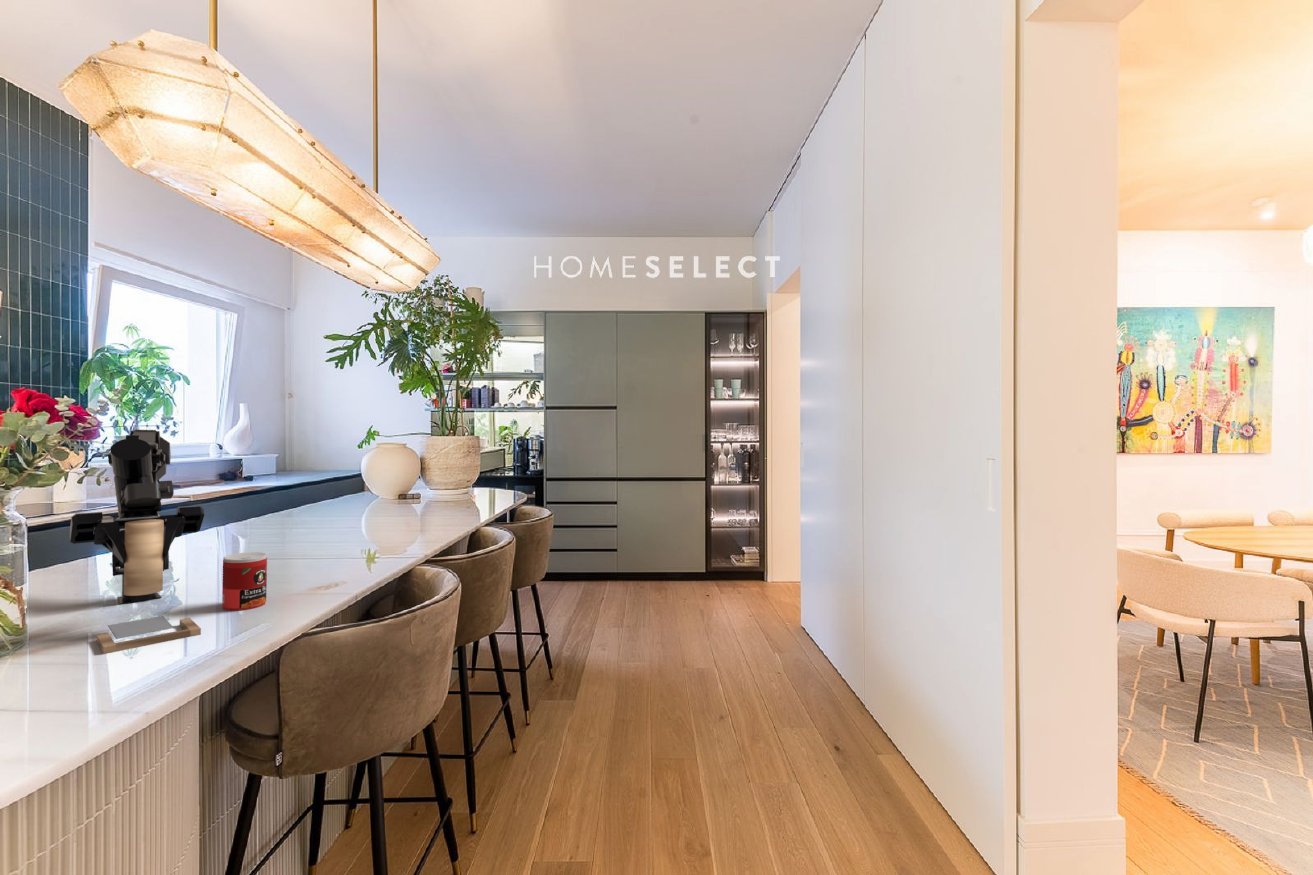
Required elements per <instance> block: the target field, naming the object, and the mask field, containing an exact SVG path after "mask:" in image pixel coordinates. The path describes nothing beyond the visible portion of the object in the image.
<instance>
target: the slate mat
mask: <svg viewBox="0 0 1313 875" xmlns="http://www.w3.org/2000/svg"><path fill="white" fill-rule="evenodd" d="M108 627H109V629H110V630H111V632H112V635H113V636H114V637H115V638H116V639H123V638H129V637H134V636H139V635H144V634H149V633H155V632H160V631H165V630H170V629H175V627H174V626H173V625H172V623H170V621H168V620H167V619H166V617H165V616H164V615H160V616H155V617H149V618H148V617H147V618H142V619H137V620H130V621H125V622H118V623H113V624H109V625H108Z"/></svg>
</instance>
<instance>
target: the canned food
mask: <svg viewBox="0 0 1313 875" xmlns="http://www.w3.org/2000/svg"><path fill="white" fill-rule="evenodd" d="M267 555H268V554H267V553H266V552H262V551H261V552H258V551H253V552H250V551H249V552H248V551H247V552H239V553H238V552H237V553H232V554H227V555H226V556H224V557H223V558H222V596H221V600H222V602H221V603H222V604H221V605H222V606H221V607H222V608H223V609H224V610H225V611H233V612H235V611H236V612H237V611H249V610H252V609H257V608H260V607H263V606H264V605H266V603H267V584H268V583H267V582H268V580H267V578H268V556H267Z"/></svg>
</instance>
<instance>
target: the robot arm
mask: <svg viewBox="0 0 1313 875" xmlns="http://www.w3.org/2000/svg"><path fill="white" fill-rule="evenodd" d="M160 433H161V432H160V430H156V429H134V430H130V434H125V438H124V439H121V440H118V441H116V442H115V443H114V444H112V445H111V446H110V448H109V449H110V450H109V453H108V454H107V459H108V464H109V466H111V467H112V473H113V475H114V477H113V482H114V490H115V497H116V506H117V514H118V517H115V516H114V515H106V516H104V515H103V512H102V511H97V512H96V511H95V512H94V511H93V512H81V513H80V512H79V513H78V512H77V513H74V514H73V515H72V516H71V517H70V526H69V543H71V544H74V545H77V544H85V543H93V544H94V545H97V546H99V545H101V546H102V547H104V548H105V549H106V550H108V551H109V552H111V554H112V555H111V562H112V563H111V564H112V577H116V576H122V577H121V579H122V580H121V596H118V597H117V598H116V599H117V601H118V602H119V604H120V605H129V604H133V603H134V604H135V603H140V602H148V601H152V600H158V599H162V595H160V594H159V592H156V593H152V594H146V595H137V596H127V595H124V563H126V553H125V522H129V521H136V520H153V519H157V520H164V537H163V572H164V571H166V570H169V569H170V564H169V563H170V552H169V551H170V550H171V549H170V548H171V546H172V544H173V542H174V540H175V539H176V538H181V537H182V535H183V534H195V533H198V532H199V531H200V530H201V527H202V524H203V522H204V518H205V511H204V508H203V507H202V506H200V505H190V506H189V505H188V506H178V507H177V508H176V511H175V514H169V515H168V514H167V515H160V513H159V512H161V511H162V502H161V501H162V500H169V499H172V498H173V496H174V494H175V493H174V484H173V481H172V480H161V479H162V478H163V477H164V476H165V475H166V474H167V468H168V467H167V466H168V465H171V460H172V459H171V443H170V442H169V441H168V440H166V439H165V438H163V437H162V436H161V434H160ZM159 480H160V481H159ZM158 481H159V482H158Z"/></svg>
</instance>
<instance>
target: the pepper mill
mask: <svg viewBox="0 0 1313 875" xmlns="http://www.w3.org/2000/svg"><path fill="white" fill-rule="evenodd" d="M163 537H164V520H157V519H153V520H136V521H129V522H125V553H126V563H124V595H127V596H137V595H146V594H152V593H156V592H157V593H159V592H161V591H163V588H164V586H163V584H164V583H163V582H164V581H163V580H164V579H163V578H164V571H163Z"/></svg>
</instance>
